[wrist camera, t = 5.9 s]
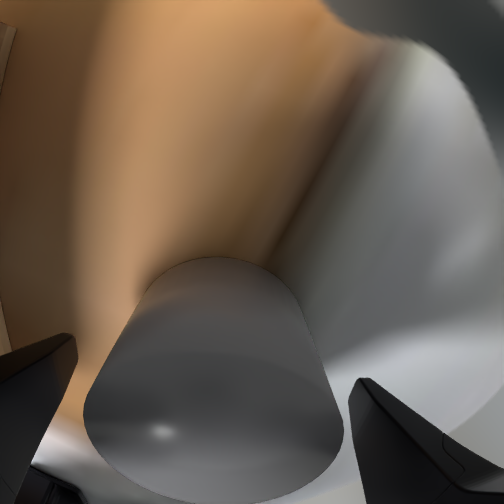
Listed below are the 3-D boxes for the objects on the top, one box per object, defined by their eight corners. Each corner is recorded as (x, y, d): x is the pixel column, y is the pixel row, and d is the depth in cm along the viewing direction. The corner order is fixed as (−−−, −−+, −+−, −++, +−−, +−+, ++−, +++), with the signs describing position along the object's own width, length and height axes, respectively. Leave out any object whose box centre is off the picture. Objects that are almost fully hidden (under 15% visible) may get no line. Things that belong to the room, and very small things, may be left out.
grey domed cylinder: (303, 392, 12) (329, 495, 7) (156, 400, 12) (131, 499, 7) (304, 249, 10) (360, 335, 5) (119, 263, 10) (43, 348, 5)
